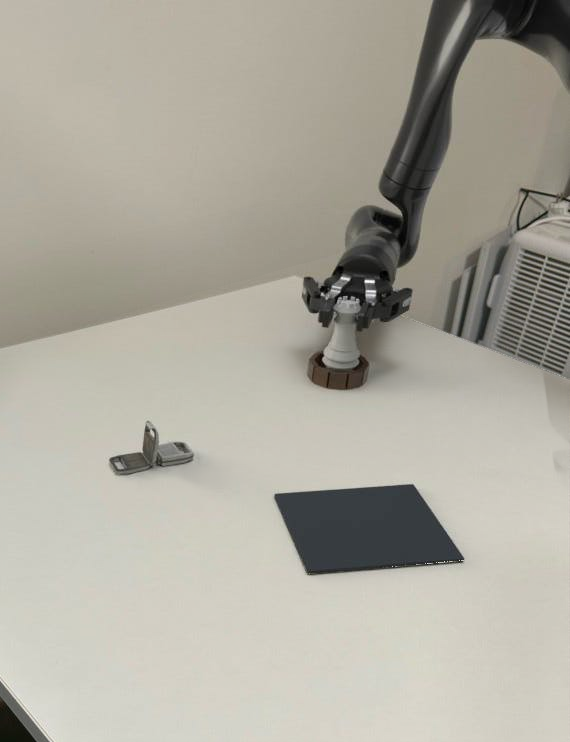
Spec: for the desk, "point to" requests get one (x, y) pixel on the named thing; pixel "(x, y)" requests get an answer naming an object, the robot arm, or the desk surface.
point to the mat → (364, 528)
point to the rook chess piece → (343, 337)
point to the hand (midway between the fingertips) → (343, 321)
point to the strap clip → (153, 453)
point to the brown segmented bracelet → (337, 373)
